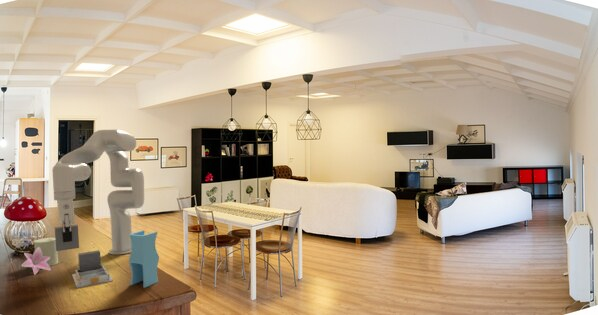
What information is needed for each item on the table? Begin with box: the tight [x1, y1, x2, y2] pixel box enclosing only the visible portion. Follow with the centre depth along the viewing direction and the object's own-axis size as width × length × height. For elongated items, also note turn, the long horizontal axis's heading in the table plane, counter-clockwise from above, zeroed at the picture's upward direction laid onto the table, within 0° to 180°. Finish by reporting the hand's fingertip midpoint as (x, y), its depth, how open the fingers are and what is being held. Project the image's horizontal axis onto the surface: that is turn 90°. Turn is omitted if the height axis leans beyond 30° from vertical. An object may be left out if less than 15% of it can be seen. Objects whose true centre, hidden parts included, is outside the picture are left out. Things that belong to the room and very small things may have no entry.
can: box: [33, 237, 59, 267], centre depth 191 cm, size 9×9×12 cm
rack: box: [71, 249, 114, 289], centre depth 169 cm, size 13×18×10 cm
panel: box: [54, 224, 80, 252], centre depth 165 cm, size 8×3×9 cm, turn 122°
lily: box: [21, 247, 52, 276], centre depth 180 cm, size 12×12×10 cm
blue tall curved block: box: [128, 230, 160, 289], centre depth 161 cm, size 8×8×20 cm
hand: (67, 240), depth 165 cm, fingers closed on panel, 3 cm apart
